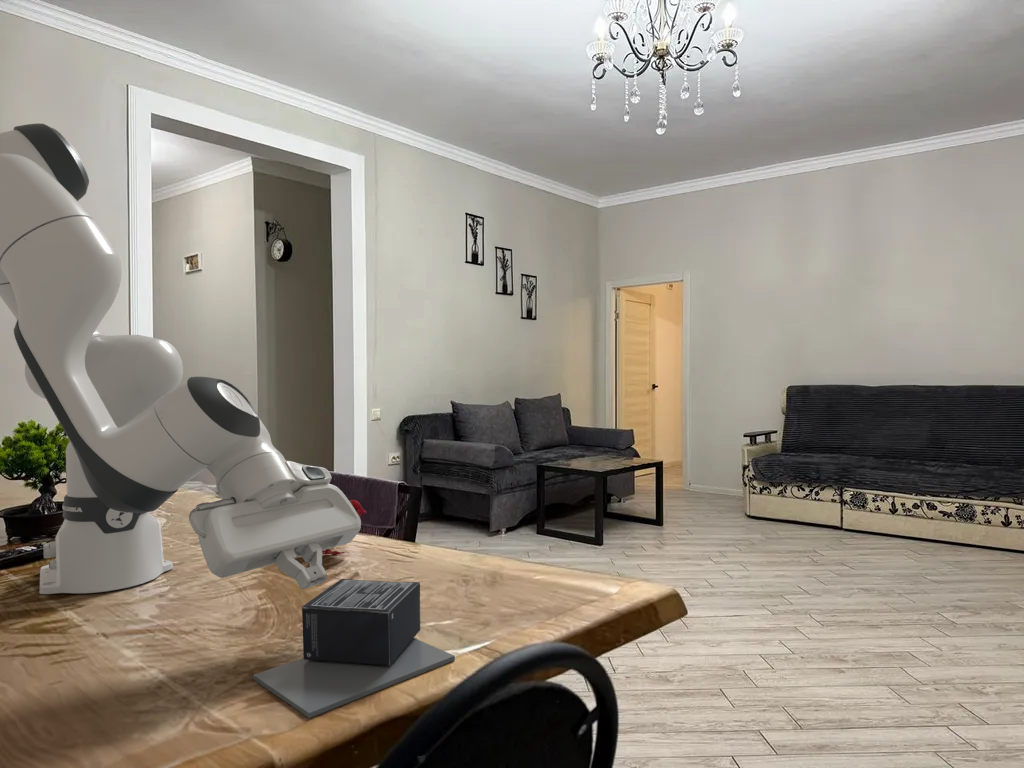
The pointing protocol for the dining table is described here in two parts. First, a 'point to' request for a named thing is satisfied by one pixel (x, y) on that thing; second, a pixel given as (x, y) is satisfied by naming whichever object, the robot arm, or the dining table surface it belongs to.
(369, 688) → the slate tile
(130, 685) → the dining table surface
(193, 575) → the dining table surface
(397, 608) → the small box
